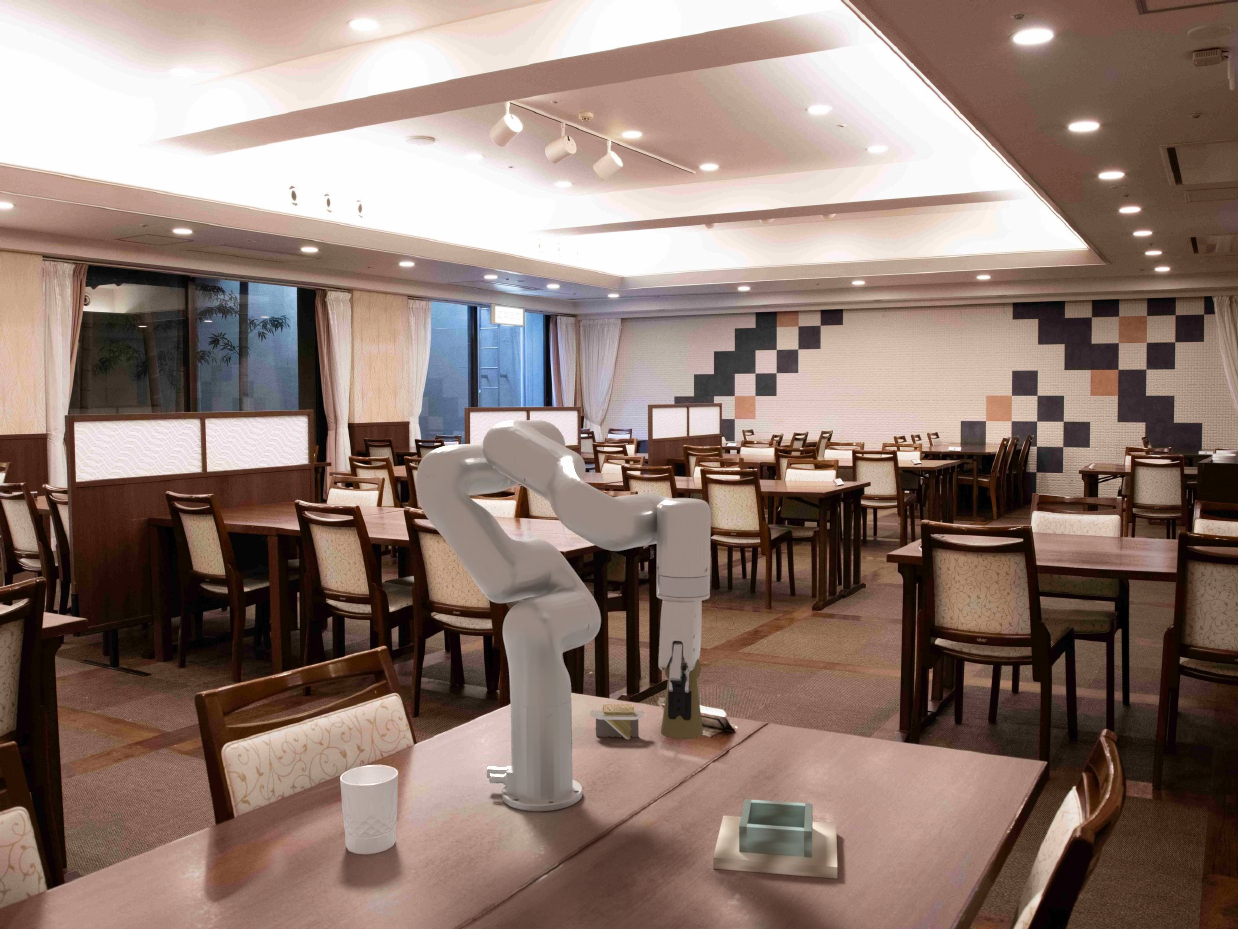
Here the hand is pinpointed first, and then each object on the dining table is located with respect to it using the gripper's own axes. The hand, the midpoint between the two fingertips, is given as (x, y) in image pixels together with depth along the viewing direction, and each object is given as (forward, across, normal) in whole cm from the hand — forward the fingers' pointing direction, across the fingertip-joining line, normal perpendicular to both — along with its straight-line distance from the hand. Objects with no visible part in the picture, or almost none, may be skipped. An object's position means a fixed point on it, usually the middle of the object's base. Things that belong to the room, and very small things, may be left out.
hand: (681, 713), depth 143 cm
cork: (+3, 0, 0) cm, 3 cm away
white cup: (+18, +11, -42) cm, 47 cm away
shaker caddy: (+17, +3, +14) cm, 22 cm away
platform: (+19, -40, -17) cm, 47 cm away
